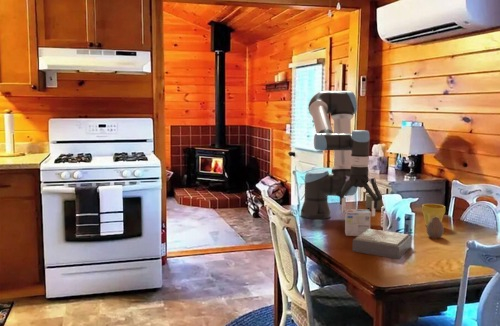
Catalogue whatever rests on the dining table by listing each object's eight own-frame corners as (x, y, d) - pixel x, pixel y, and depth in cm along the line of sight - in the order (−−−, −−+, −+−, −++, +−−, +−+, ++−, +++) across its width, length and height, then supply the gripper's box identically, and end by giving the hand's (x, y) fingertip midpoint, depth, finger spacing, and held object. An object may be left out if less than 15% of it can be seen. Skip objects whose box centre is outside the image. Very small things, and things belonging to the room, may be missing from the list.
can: (388, 206, 276) (389, 194, 275) (386, 210, 265) (386, 198, 264) (367, 204, 280) (367, 192, 280) (363, 208, 269) (364, 196, 269)
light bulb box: (368, 232, 221) (369, 209, 219) (370, 236, 214) (371, 212, 213) (344, 231, 222) (344, 208, 220) (345, 235, 215) (346, 211, 214)
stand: (352, 251, 193) (352, 237, 192) (367, 240, 208) (367, 227, 208) (398, 259, 184) (399, 245, 183) (410, 247, 199) (411, 234, 198)
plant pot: (417, 223, 238) (418, 203, 237) (438, 223, 239) (439, 203, 238) (426, 228, 228) (428, 208, 227) (448, 228, 229) (449, 207, 227)
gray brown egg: (442, 236, 216) (444, 216, 215) (443, 240, 210) (444, 220, 208) (426, 234, 218) (427, 215, 217) (426, 238, 212) (427, 218, 211)
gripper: (329, 164, 217) (328, 212, 220) (385, 168, 204) (383, 218, 206) (335, 163, 224) (334, 209, 226) (390, 167, 211) (388, 215, 213)
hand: (358, 214), depth 216 cm, fingers open, 13 cm apart
